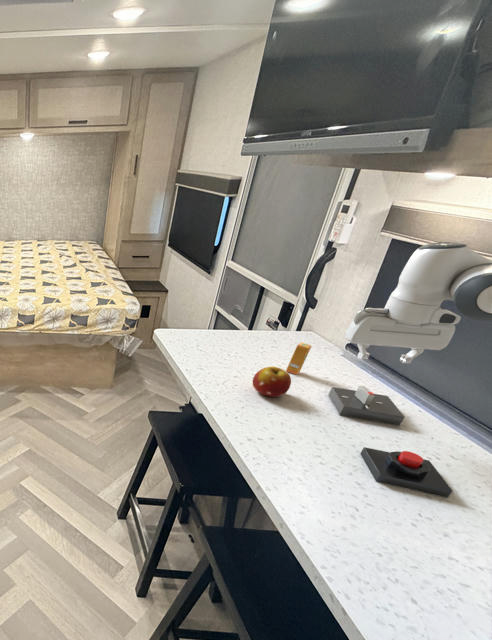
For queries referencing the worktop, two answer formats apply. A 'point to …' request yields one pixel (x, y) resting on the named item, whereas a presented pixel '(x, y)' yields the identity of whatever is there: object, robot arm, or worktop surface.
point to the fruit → (272, 381)
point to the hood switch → (404, 473)
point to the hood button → (410, 459)
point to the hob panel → (365, 407)
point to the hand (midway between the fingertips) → (383, 360)
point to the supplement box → (298, 358)
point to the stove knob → (364, 395)
